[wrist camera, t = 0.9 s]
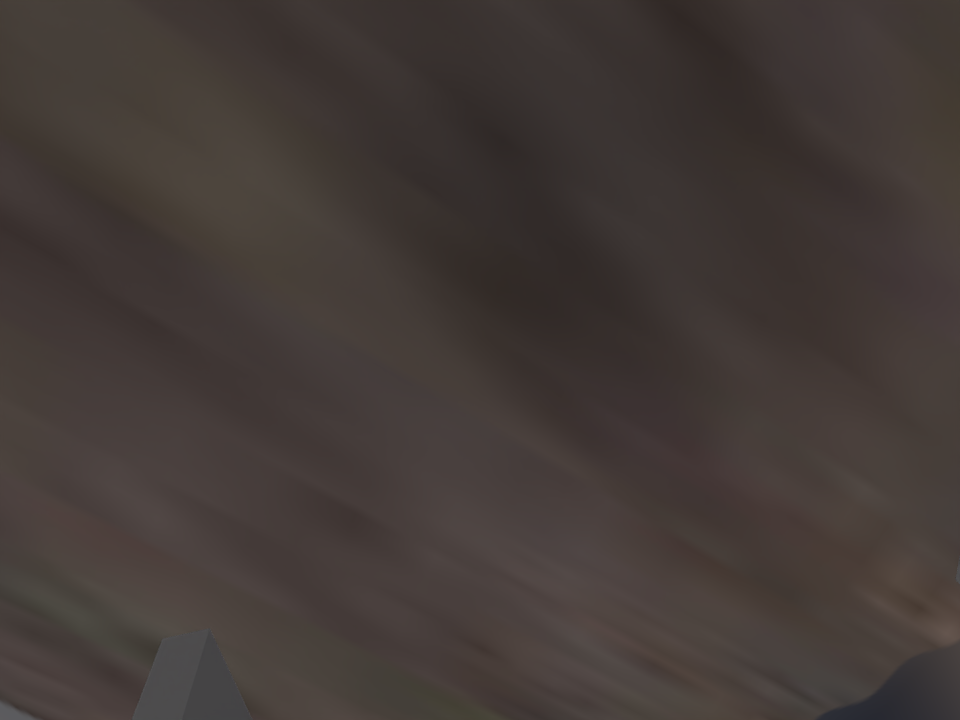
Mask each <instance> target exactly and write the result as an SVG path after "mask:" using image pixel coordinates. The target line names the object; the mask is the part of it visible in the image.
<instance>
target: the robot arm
mask: <svg viewBox="0 0 960 720" xmlns="http://www.w3.org/2000/svg"><path fill="white" fill-rule="evenodd" d="M956 581H957V582H958V583H959V584H960V557H959V563H958V569H957V574H956ZM132 720H252V718H251V716H250V714H249V711H248V709H247V707H246V705H245V703H244V701H243V699H242V696H241V694H240V692H239V690H238V688H237V686H236V684H235V681H234V679H233V677H232V675H231V673H230V671H229V669H228V666H227V664H226V662H225V660H224V658H223V656H222V653H221V651H220V649H219V647H218V645H217V643H216V641H215V638H214V636H213V634H212V632H211V630H210V628H209V629H205V630H200V631H196V632H191V633H187V634H182V635H178V636H173V637H169V638H164V639H162V642H161V644H160V647H159V649H158V652H157V655H156V657H155V660H154V663H153V665H152V668H151V670H150V673H149V676H148V678H147V681H146V684H145V686H144V689H143V691H142V694H141V697H140V699H139V702H138V705H137V707H136V710H135V712H134V715H133V718H132Z"/></svg>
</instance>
